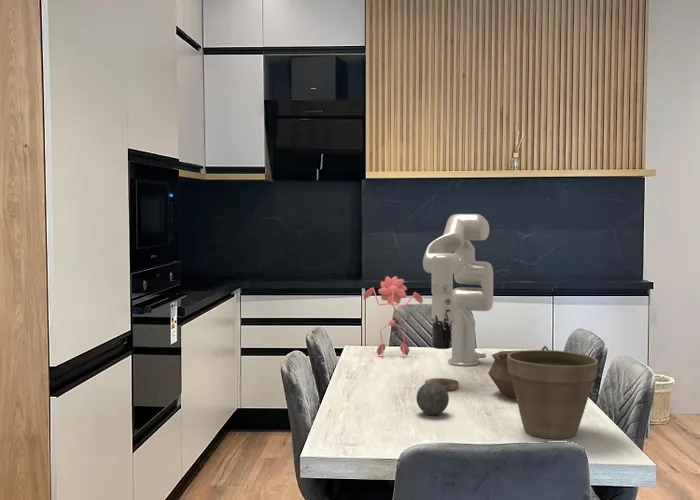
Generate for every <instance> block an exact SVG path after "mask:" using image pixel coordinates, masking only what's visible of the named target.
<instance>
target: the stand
mask: <svg viewBox="0 0 700 500" xmlns="http://www.w3.org/2000/svg"><path fill="white" fill-rule="evenodd" d="M429 382H436V383H439V384H441V385H442V386H443V387H444V388H445V389H446V390H447V392H448V393H449V392H455V391H458V390H459V386H460V385H459V381H458V380H456V379H452V378H444V377H442V378H441V377H438V378H436V377H435V378H430V379H429V378H428V379H426V380H424V384H426V383H429Z"/></svg>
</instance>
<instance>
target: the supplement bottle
mask: <svg viewBox="0 0 700 500" xmlns="http://www.w3.org/2000/svg"><path fill="white" fill-rule="evenodd" d="M435 320H436V321H435V322H433V321H432V324H431V325H432V327H431V331H432V332H431V337H432V338H431V347H432V348H433V349H437V350H449V349H452V339H451V340H450V341H442V330H443V326H442V322H440V321H438V319H437V315H435ZM444 321H448V320H444ZM445 325H446V323H445Z"/></svg>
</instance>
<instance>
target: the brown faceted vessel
mask: <svg viewBox="0 0 700 500" xmlns="http://www.w3.org/2000/svg"><path fill="white" fill-rule="evenodd" d="M541 350H549V349H548V347H547V345H546V344H545V345H544V346H543V347H542V348H541ZM517 351H525V350H524V349H522V350H500V351H498V352H496V353H494V354H491V357H492V358H493V359H494V361H493V362H492V364H491V366H490V369H489V370H488V373H487V374H488V376H489V377H490V379H491V380H492V381H493V383H494V384H495V386H496V388H497V389H498V391H499V392H500V394H501V395H502V396H503V397H505V398H506V399H509V400H514V401H515V400H516V401H517V399H516V395H515V390H514V386H513V382H512V377H511V374H509V373H508V366H507V355H508V354H509V353H512V352H517Z"/></svg>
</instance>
